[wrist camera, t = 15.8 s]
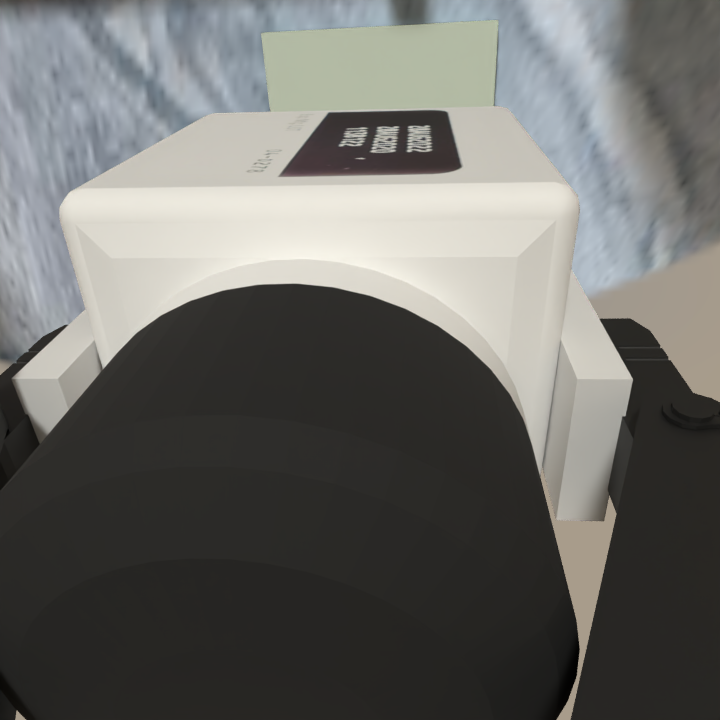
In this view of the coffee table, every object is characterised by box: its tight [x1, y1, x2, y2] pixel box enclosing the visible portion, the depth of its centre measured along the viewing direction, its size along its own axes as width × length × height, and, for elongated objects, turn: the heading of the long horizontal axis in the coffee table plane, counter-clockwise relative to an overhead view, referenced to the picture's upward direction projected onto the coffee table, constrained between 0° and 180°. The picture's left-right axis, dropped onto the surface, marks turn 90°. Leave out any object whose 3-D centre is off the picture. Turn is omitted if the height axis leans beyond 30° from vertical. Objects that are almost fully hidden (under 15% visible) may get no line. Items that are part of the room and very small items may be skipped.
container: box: [0, 106, 580, 720], centre depth 12 cm, size 8×8×13 cm
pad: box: [261, 20, 498, 112], centre depth 29 cm, size 10×10×1 cm
